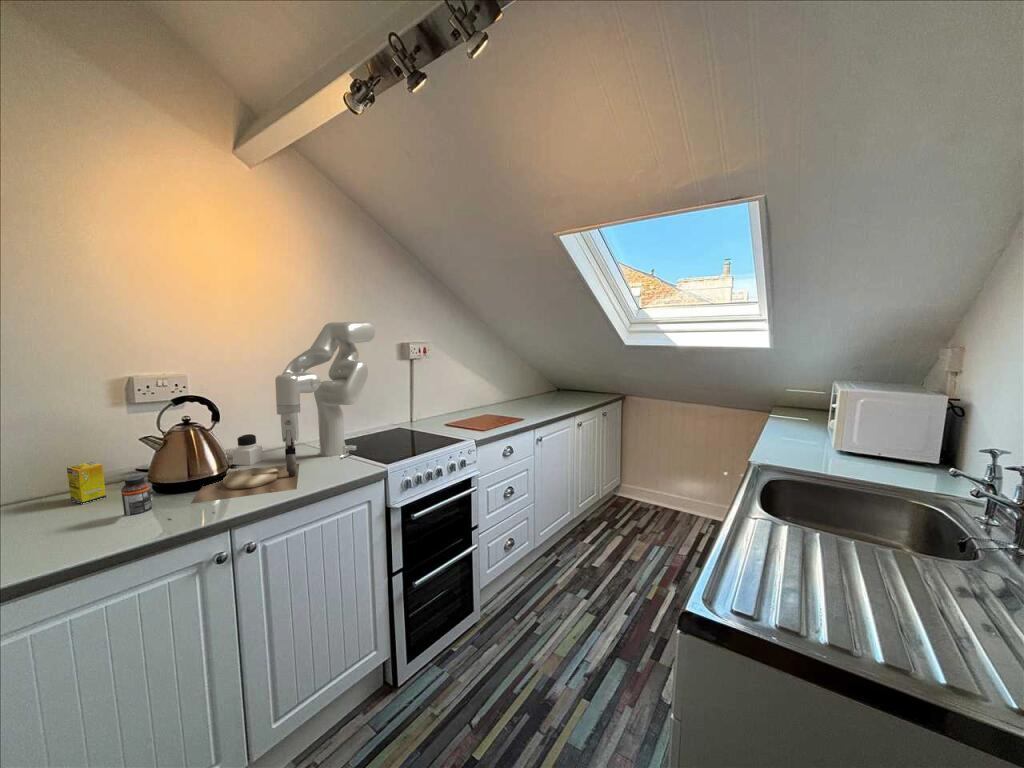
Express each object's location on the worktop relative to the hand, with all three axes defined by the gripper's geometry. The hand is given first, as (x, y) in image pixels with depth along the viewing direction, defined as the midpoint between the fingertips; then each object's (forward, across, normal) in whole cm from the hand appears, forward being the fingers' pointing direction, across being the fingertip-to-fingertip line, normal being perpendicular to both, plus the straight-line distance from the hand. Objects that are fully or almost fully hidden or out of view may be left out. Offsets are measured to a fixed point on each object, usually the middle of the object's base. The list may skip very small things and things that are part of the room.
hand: (290, 458), depth 152 cm
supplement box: (+7, 0, +56) cm, 56 cm away
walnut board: (+6, -6, +12) cm, 15 cm away
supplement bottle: (+7, -20, +38) cm, 43 cm away
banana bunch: (+4, -6, +9) cm, 12 cm away
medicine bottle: (+6, +18, +16) cm, 24 cm away
